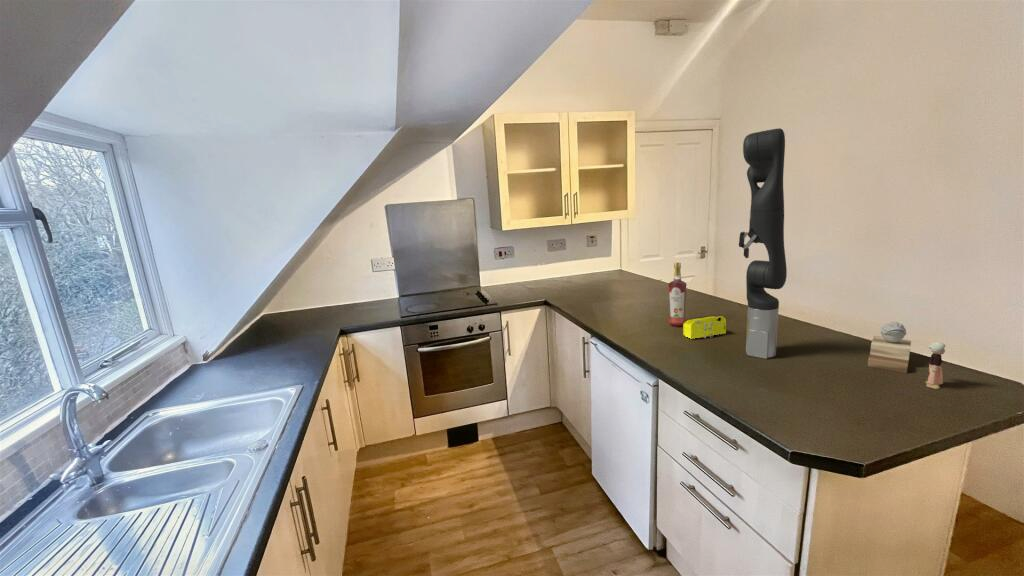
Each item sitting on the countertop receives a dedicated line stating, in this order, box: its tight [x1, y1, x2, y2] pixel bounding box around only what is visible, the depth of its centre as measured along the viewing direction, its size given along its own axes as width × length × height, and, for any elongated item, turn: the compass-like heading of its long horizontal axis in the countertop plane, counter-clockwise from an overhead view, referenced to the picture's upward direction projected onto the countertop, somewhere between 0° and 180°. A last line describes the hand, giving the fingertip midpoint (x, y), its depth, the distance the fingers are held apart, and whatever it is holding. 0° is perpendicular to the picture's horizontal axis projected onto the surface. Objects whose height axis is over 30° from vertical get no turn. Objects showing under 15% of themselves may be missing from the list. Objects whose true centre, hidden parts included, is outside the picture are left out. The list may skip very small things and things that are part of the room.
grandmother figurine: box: [925, 341, 946, 390], centre depth 114 cm, size 8×4×13 cm, turn 148°
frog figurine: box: [880, 321, 907, 343], centre depth 131 cm, size 6×7×7 cm
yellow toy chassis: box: [682, 315, 727, 340], centre depth 166 cm, size 16×6×8 cm, turn 103°
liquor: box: [668, 262, 688, 327], centre depth 180 cm, size 7×7×28 cm
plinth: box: [867, 335, 912, 374], centre depth 131 cm, size 14×9×6 cm, turn 135°
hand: (759, 258), depth 161 cm, fingers open, 8 cm apart
